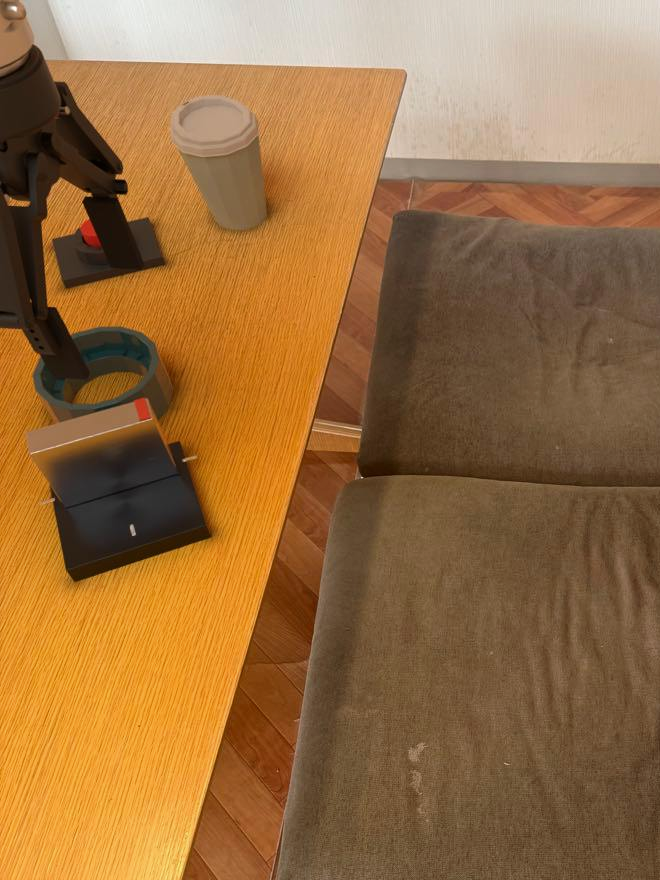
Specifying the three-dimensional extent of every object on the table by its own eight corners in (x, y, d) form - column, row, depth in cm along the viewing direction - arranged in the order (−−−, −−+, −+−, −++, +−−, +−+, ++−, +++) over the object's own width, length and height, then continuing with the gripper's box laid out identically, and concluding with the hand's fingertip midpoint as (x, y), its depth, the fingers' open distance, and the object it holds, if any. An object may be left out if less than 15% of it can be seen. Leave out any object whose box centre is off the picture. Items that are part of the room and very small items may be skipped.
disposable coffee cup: (298, 217, 121) (274, 109, 108) (240, 257, 115) (208, 148, 103) (241, 189, 124) (212, 81, 112) (183, 227, 119) (145, 118, 106)
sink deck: (66, 591, 85) (52, 573, 82) (43, 470, 94) (30, 450, 91) (225, 539, 89) (217, 520, 87) (189, 427, 98) (180, 407, 95)
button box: (69, 295, 110) (55, 268, 107) (58, 253, 115) (45, 226, 111) (167, 271, 113) (157, 244, 110) (153, 231, 118) (143, 204, 115)
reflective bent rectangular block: (65, 508, 87) (28, 452, 80) (60, 486, 89) (23, 429, 82) (179, 473, 90) (152, 416, 83) (172, 453, 92) (146, 395, 85)
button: (88, 251, 109) (82, 238, 108) (83, 232, 111) (77, 220, 110) (121, 243, 110) (116, 231, 109) (116, 225, 113) (111, 213, 111)
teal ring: (65, 462, 94) (41, 423, 89) (49, 385, 101) (26, 344, 96) (186, 427, 98) (169, 388, 93) (162, 354, 104) (145, 314, 99)
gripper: (-52, 169, 49) (93, 431, 67) (102, -27, 64) (188, 229, 81) (-186, 162, 49) (-6, 425, 67) (-2, -33, 64) (107, 224, 81)
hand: (101, 318), depth 74 cm, fingers open, 13 cm apart
